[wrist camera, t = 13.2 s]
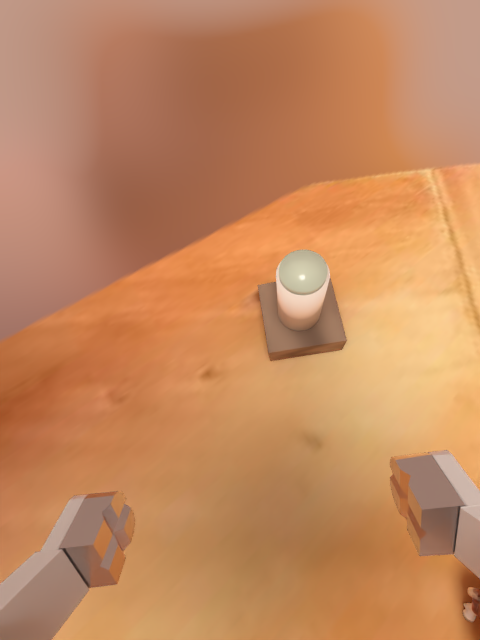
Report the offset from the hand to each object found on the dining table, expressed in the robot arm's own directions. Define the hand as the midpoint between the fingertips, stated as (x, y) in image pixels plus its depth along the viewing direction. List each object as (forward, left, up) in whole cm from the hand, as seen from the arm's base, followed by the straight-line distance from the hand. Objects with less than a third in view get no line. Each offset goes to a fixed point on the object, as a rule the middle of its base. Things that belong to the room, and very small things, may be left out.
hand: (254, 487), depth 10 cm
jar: (+5, +15, -25) cm, 30 cm away
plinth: (+5, +15, -29) cm, 33 cm away
